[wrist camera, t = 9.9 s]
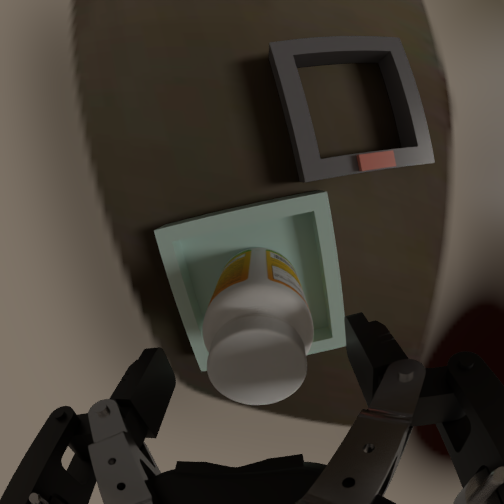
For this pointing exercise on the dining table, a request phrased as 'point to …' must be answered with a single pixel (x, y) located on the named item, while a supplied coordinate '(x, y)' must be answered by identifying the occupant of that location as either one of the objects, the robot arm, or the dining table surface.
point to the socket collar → (398, 87)
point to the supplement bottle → (257, 329)
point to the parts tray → (251, 236)
